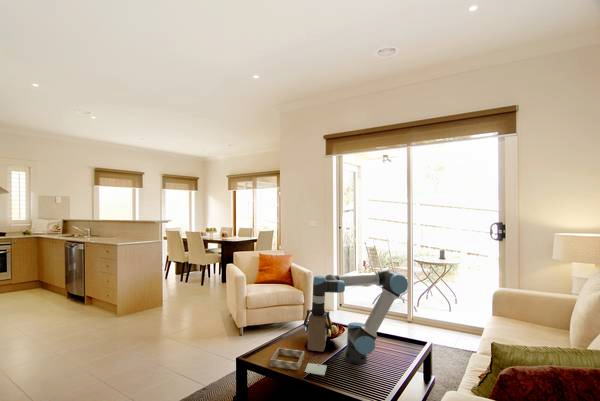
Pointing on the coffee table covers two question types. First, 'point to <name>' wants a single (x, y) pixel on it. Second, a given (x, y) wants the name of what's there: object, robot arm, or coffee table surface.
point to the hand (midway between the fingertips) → (316, 338)
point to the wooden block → (316, 332)
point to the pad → (315, 369)
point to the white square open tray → (287, 363)
